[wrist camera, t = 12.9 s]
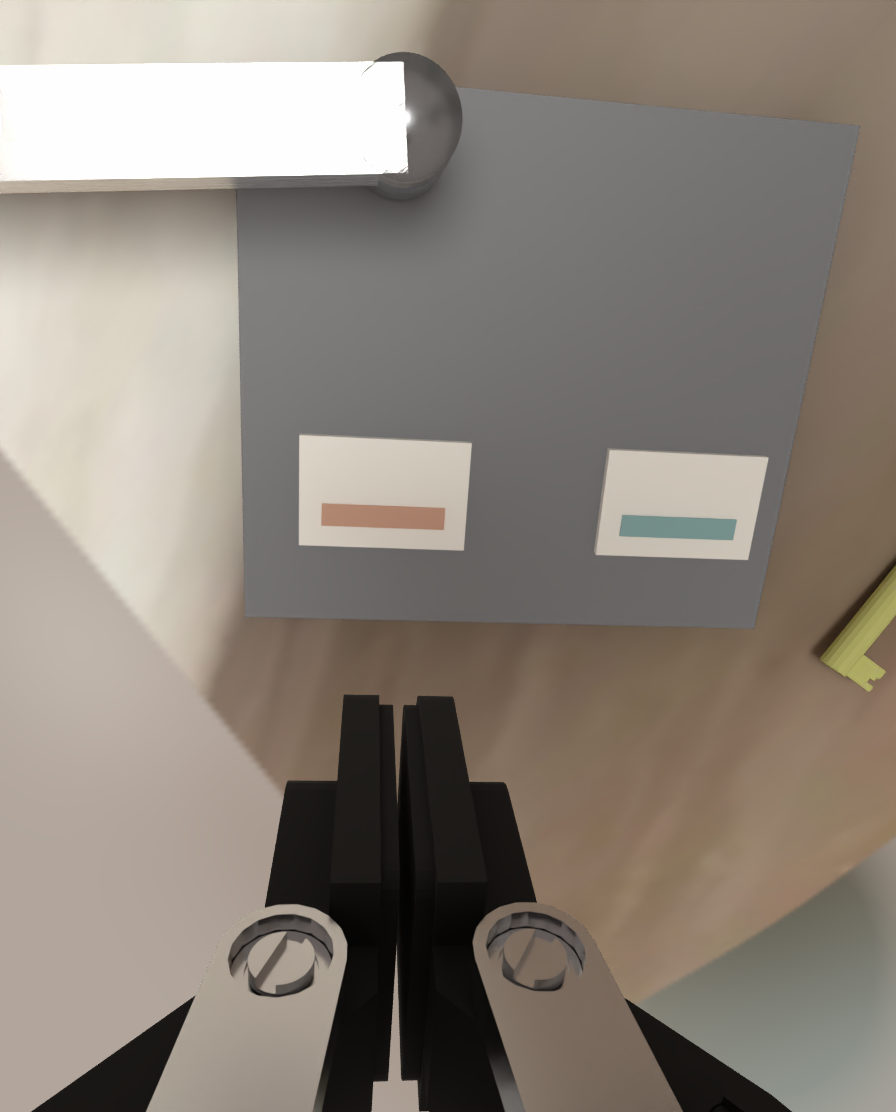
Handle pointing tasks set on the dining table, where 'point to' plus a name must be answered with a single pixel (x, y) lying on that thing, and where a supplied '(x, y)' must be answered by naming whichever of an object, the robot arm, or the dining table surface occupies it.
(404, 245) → the label panel
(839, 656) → the key
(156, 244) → the dining table surface
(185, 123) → the swing arm
